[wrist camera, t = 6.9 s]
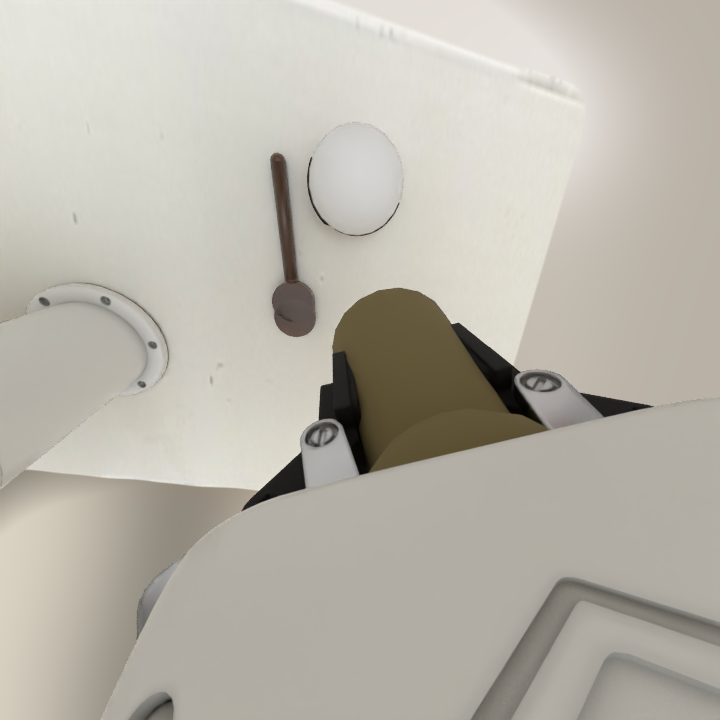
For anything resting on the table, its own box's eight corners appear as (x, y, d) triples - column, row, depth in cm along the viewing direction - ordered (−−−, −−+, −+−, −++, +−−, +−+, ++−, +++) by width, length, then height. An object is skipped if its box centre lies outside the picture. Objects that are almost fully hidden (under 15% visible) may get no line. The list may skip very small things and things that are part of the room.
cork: (357, 268, 12) (473, 483, 2) (472, 312, 13) (845, 559, 4) (317, 381, 14) (287, 721, 5) (418, 408, 16) (557, 710, 6)
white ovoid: (309, 134, 23) (297, 101, 16) (397, 139, 23) (420, 109, 17) (314, 261, 27) (307, 275, 21) (388, 263, 28) (404, 277, 21)
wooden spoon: (317, 333, 31) (316, 337, 30) (279, 333, 30) (276, 338, 29) (303, 154, 23) (302, 151, 22) (252, 154, 23) (248, 151, 22)
